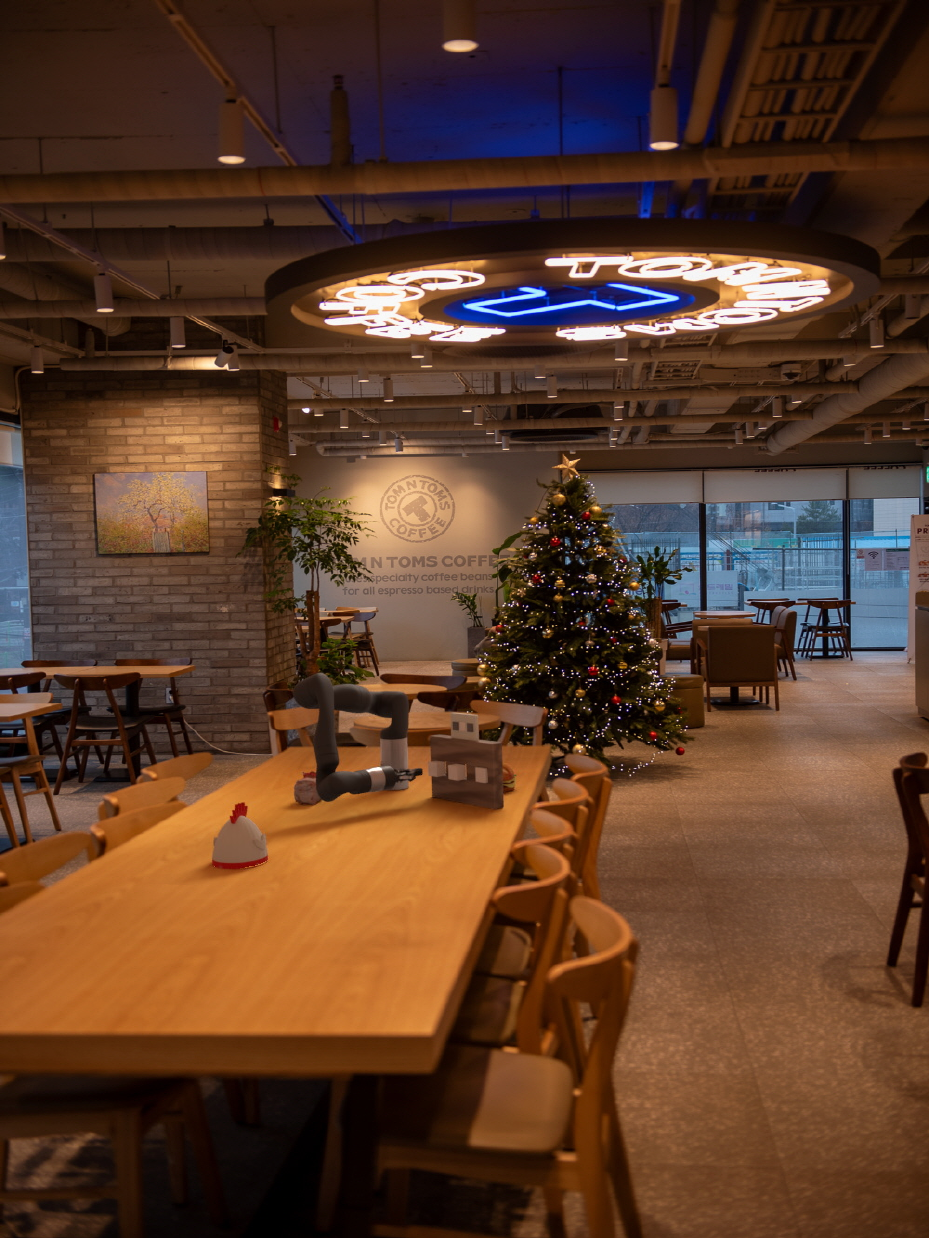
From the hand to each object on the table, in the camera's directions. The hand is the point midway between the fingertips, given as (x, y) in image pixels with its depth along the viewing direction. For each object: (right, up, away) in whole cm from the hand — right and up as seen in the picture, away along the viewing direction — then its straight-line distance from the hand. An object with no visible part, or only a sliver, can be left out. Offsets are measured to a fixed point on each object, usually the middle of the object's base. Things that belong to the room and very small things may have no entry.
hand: (421, 771), depth 341 cm
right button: (+20, -2, -9) cm, 22 cm away
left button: (+5, -2, +4) cm, 7 cm away
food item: (-36, -11, +8) cm, 39 cm away
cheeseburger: (+26, -9, +18) cm, 33 cm away
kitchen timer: (-43, -14, -69) cm, 82 cm away
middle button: (+11, -2, -3) cm, 12 cm away
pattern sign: (+14, +10, -1) cm, 17 cm away
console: (+15, -10, -1) cm, 17 cm away
